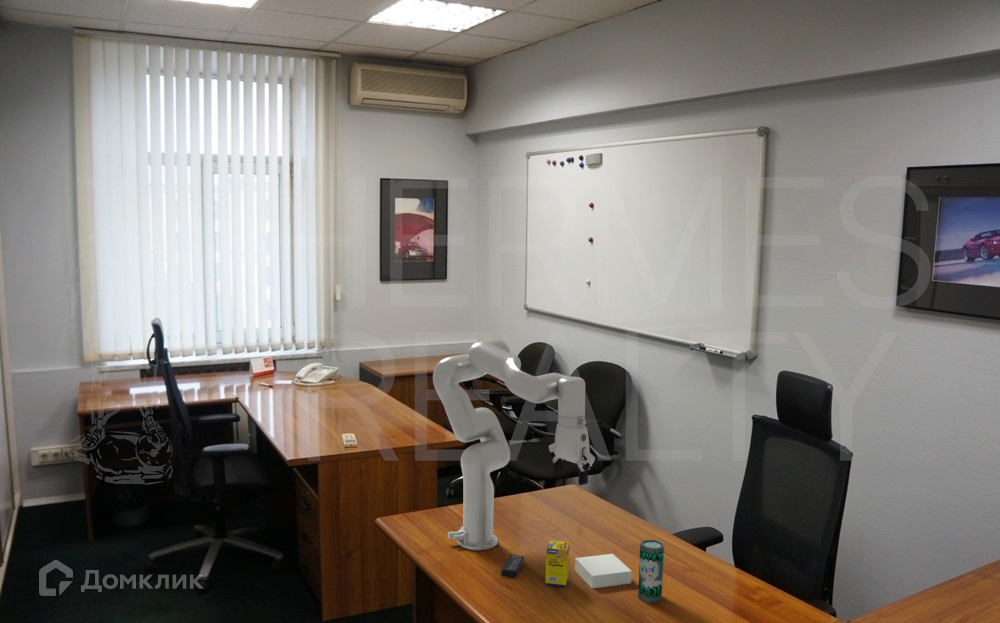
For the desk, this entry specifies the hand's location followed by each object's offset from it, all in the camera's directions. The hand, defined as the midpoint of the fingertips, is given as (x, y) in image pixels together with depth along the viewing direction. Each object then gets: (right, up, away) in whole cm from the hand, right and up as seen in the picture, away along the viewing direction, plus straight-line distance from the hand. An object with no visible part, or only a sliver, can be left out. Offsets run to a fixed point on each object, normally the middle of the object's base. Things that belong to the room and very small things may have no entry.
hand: (570, 479), depth 218 cm
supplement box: (-4, -28, -3) cm, 29 cm away
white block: (+9, -28, +2) cm, 30 cm away
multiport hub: (-16, -28, +5) cm, 33 cm away
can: (+20, -30, -11) cm, 37 cm away
